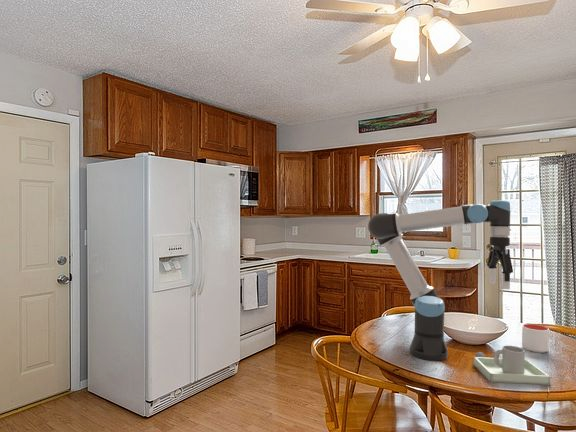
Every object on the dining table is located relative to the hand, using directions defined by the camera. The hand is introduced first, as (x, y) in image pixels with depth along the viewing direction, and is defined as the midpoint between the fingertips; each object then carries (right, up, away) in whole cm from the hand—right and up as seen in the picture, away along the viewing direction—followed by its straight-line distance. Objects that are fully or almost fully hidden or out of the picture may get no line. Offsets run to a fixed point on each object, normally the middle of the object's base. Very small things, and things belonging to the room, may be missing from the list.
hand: (498, 286), depth 167 cm
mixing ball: (-12, -27, -9) cm, 31 cm away
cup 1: (-8, -29, -21) cm, 36 cm away
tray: (-8, -29, -22) cm, 37 cm away
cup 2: (+19, -29, +6) cm, 35 cm away
